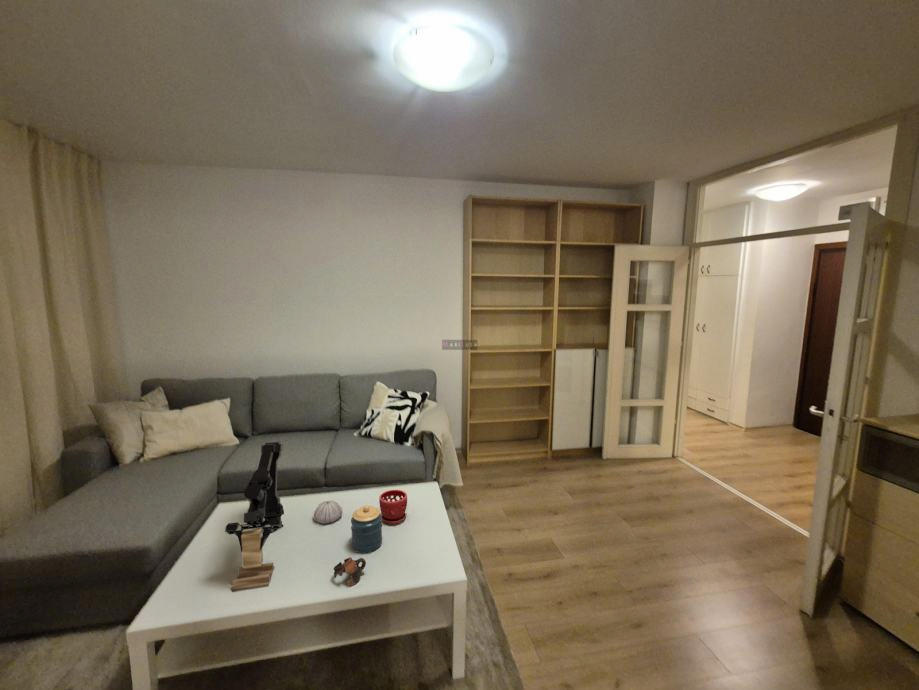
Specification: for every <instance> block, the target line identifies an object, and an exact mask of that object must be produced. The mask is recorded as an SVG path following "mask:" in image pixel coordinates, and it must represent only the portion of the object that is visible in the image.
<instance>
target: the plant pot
mask: <svg viewBox="0 0 919 690" xmlns="http://www.w3.org/2000/svg"><path fill="white" fill-rule="evenodd" d="M392 496H393V497H392ZM397 497H398V498H399V500H398V499H397ZM393 500H394V501H393ZM378 501H379V511H380V514H381V515H382V520H381V521H383V522H384V523H385V524H388V525H396V524H400V523H402V522H403V521H404V520H405V519H406V516H407V513H406V511H407V506H408V494H407V492H405V491H404V490H402V489H390V490H385V491H384V492H382V493H381V494H380V495H379V499H378Z"/></svg>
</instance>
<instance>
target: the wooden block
mask: <svg viewBox="0 0 919 690" xmlns="http://www.w3.org/2000/svg"><path fill="white" fill-rule="evenodd" d="M261 539H262V528H257V529H248V530H244V531H243V533H242V536H241V540H242V552H241V554H242V567H243V568H250V567H257V566H261V565H262V564H263V562H264V556H263V555H264V554H263V548H262V549H261V550H260V544H261Z"/></svg>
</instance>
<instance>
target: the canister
mask: <svg viewBox="0 0 919 690" xmlns="http://www.w3.org/2000/svg"><path fill="white" fill-rule="evenodd" d="M382 521H383V520H382V513H381V510H380V508H378V507H376V506H373V505H367V504H366V505H364V506H360V507H359V508H357V509H355V511H354V512H353V514H352V516H351V519H350V523H351V526H350V529H351V547H352V549H353V551H355V552H358V553H360V554H368V553H373V552H374V551H376V550H378V549H379V548H380V547H381V546H382V542H383V533H382V532H383V530H382V527H383V523H382Z"/></svg>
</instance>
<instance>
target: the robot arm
mask: <svg viewBox="0 0 919 690" xmlns="http://www.w3.org/2000/svg"><path fill="white" fill-rule="evenodd" d="M260 448H261V449H260V454H261V455H260V458H259V462H258V466H257V469H256V470H255V471H254V472H253V473H252V475H251V478H250V479H249V480H248V484H247V485H246V487H245V490H244V491H243V495H244V498H246V500H247V501H248V503H249V505H248V509H247V511H246V512H244V513H243V523H244V524H241V523H239V522H238V521H237V522H228V523H227V524H226V526H225V529H224V532H225V533H227V535H235V536H236V537H237V539H238V542H239V548H240V552H241V553H242V540H241V536H242V533H243V531H247V530H255V529H262V533H261V535H262V539H261V544H260V550H261V549H262V550H263V549H264V546H265V543H266V542H267V539H268V538H269V536H270V535H271V533H274V532H276V531H277V530H280V529H282V528H283V527H284V524H283V520H282V516H283V515H284V514H285V509H284V506H283V503H281V498H280V496H279V495H278V494H277V493H278V462H279V460H280V458H281V456H282V452H284V451H283V450H284V445H283V443H281V442H280V441H269V442H268V441H267V442H265V443H264V444H261V447H260ZM264 490H265V491H264Z"/></svg>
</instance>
